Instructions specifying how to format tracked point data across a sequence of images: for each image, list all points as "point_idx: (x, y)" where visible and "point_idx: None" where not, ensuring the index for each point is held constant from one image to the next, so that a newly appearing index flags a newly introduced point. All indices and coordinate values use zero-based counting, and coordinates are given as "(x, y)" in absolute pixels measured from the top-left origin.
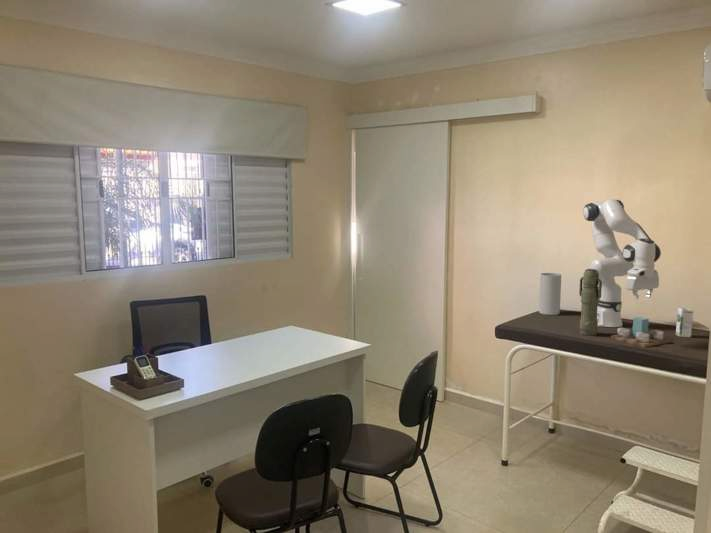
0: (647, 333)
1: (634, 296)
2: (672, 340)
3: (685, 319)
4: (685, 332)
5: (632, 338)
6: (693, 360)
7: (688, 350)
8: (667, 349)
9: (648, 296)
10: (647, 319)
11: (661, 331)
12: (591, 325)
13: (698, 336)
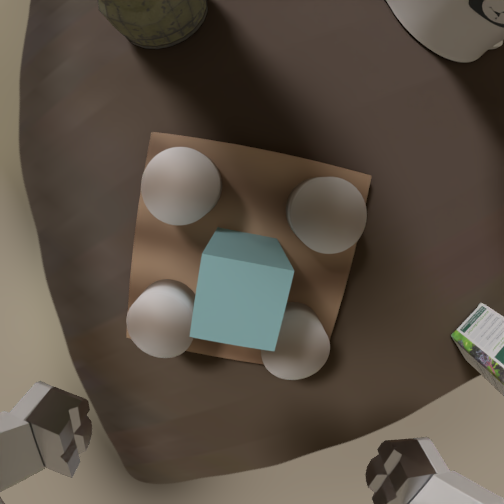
0: (185, 343)
1: (26, 412)
2: (371, 350)
3: (500, 385)
4: (468, 357)
5: (186, 244)
6: (132, 475)
7: (243, 446)
8: (186, 403)
9: (370, 476)
10: (258, 347)
11: (306, 367)
12: (109, 20)
13: None
